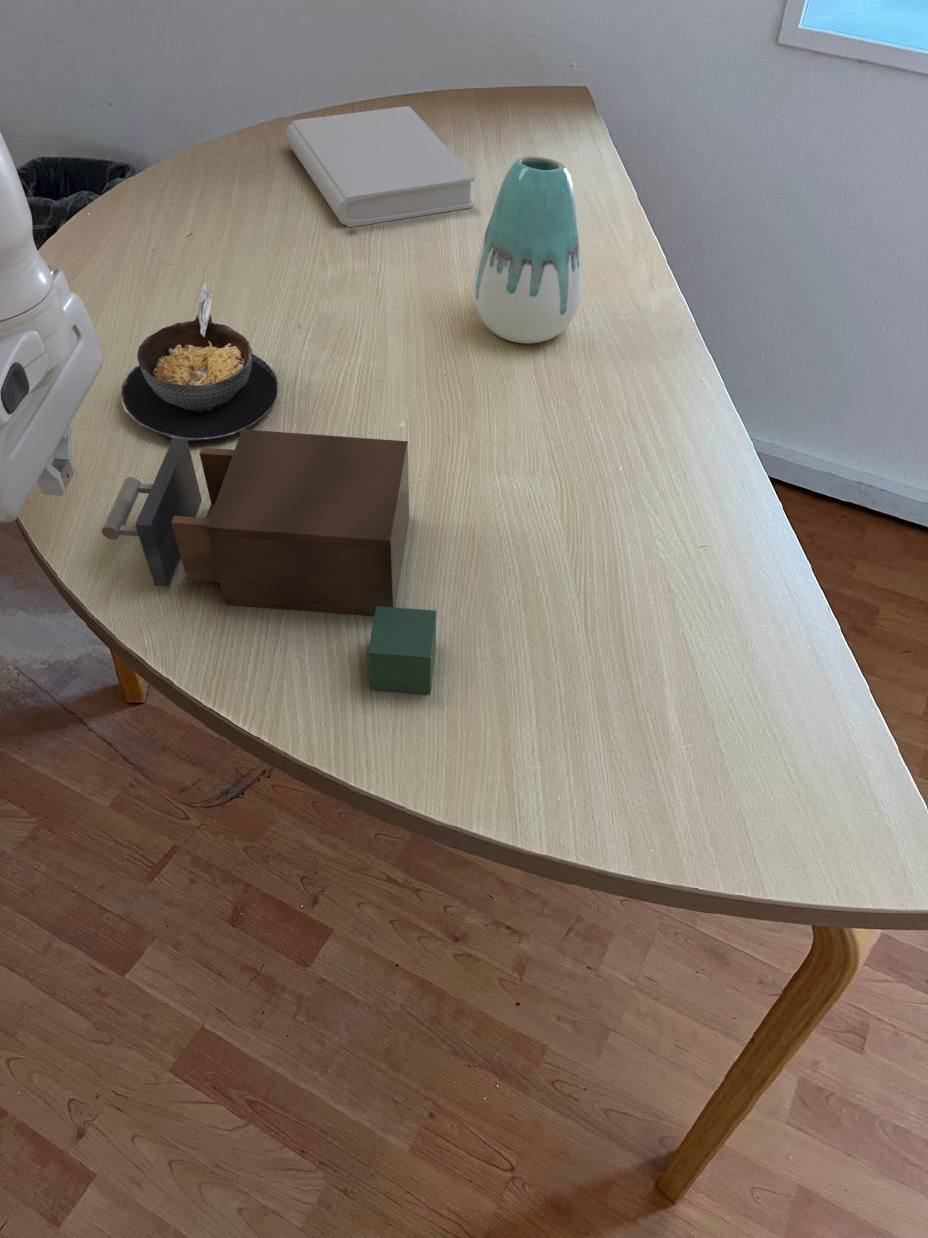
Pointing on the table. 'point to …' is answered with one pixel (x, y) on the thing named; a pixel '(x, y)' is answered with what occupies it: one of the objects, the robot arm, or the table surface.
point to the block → (402, 650)
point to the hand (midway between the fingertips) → (60, 483)
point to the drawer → (173, 514)
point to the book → (380, 165)
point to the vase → (530, 255)
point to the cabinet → (312, 522)
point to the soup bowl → (198, 380)
